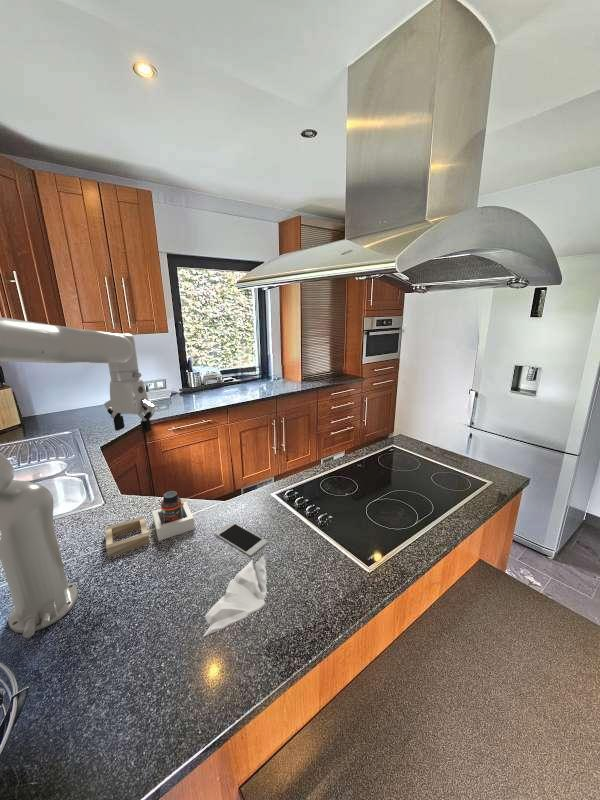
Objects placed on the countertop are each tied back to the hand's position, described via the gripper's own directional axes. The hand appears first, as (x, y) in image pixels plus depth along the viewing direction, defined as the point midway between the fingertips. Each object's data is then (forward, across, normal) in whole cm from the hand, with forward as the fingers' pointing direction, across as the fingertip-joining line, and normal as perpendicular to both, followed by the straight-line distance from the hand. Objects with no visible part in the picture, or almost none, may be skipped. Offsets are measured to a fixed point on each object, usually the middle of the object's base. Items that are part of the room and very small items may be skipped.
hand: (133, 430), depth 100 cm
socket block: (+30, -12, +2) cm, 33 cm away
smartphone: (+31, -35, +3) cm, 47 cm away
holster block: (+30, -3, +11) cm, 32 cm away
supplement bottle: (+31, -12, +2) cm, 33 cm away
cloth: (+31, -44, +21) cm, 58 cm away
